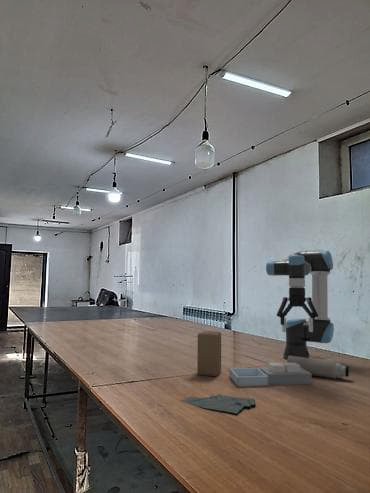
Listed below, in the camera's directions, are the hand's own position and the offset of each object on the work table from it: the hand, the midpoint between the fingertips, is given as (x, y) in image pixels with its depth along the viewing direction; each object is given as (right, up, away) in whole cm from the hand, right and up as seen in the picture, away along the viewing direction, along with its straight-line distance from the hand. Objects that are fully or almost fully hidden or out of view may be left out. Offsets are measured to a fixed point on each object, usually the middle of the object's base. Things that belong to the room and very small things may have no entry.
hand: (297, 331), depth 176 cm
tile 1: (-12, -17, -6) cm, 21 cm away
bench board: (-8, -21, -6) cm, 23 cm away
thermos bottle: (-1, -19, +11) cm, 22 cm away
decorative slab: (-40, -19, -40) cm, 60 cm away
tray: (-25, -21, -8) cm, 34 cm away
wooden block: (-42, -22, +5) cm, 48 cm away
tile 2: (-5, -17, -5) cm, 18 cm away
